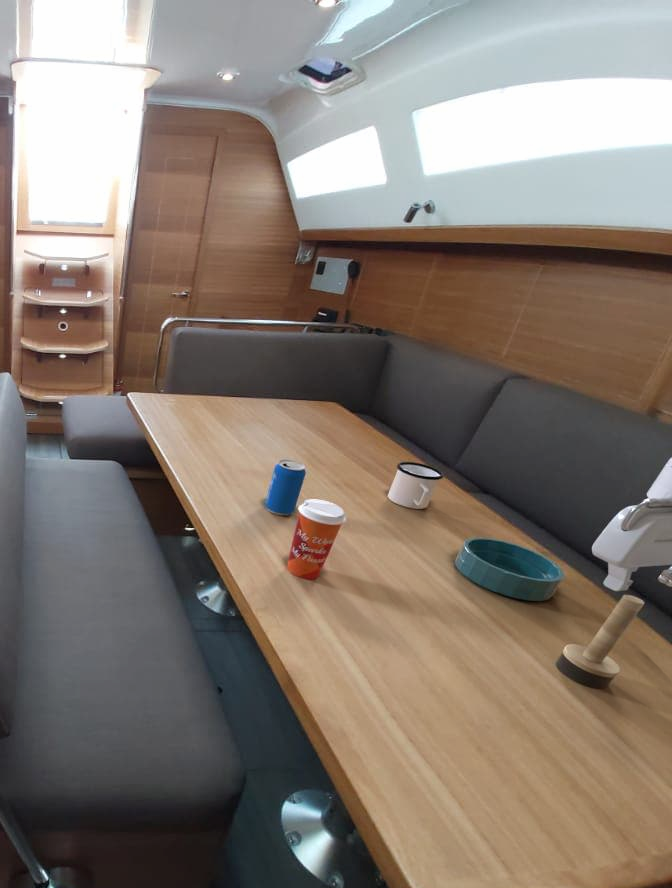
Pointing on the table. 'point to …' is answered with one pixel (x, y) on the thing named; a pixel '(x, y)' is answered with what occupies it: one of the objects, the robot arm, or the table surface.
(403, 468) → the mug
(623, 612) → the wooden peg on disc
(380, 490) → the table surface
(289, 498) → the beverage can
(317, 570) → the paper cup
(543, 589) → the bowl
